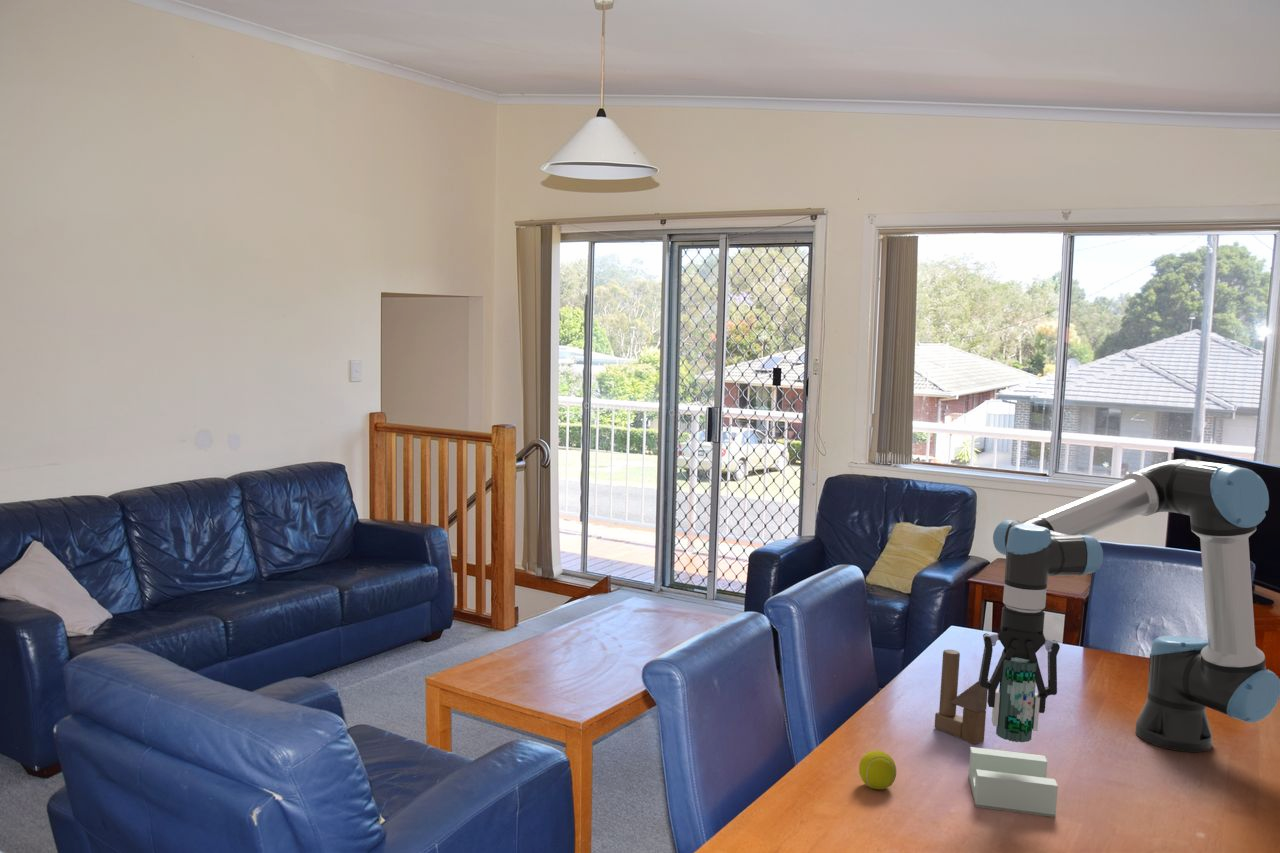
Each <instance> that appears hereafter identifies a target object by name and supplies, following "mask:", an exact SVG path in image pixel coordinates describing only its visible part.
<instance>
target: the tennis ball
mask: <svg viewBox="0 0 1280 853" xmlns="http://www.w3.org/2000/svg"><path fill="white" fill-rule="evenodd" d="M858 771H859V776H860V779H861V780H862V782H863V783H864V784H865V785H866V786H867V787H869V788H871V789H874V790H885V789H888V788H890V787H891V786H892V785H893V783H894V782H895V781H896V777H897V766H896V763H895V761H894V759H893V758H892V756H890V755H889V754H888V753H887V752H884V751H882V750H871V751H868V752H866V753H865V754H864V755H863V756H862V757H861V758H860V762H859V764H858Z"/></svg>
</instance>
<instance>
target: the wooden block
mask: <svg viewBox="0 0 1280 853" xmlns="http://www.w3.org/2000/svg"><path fill="white" fill-rule="evenodd" d="M960 660H961V653H960V652H959V651H958V650H956V649H944V650H943V652H942V660H941V661H942V664H941V675H940V676H941V677H940V679H941V681H940V694H939V707H938V709H939V710H938V712H936V713H935V715H934V728H935V729H936V730H939V731H940V732H941V731H942V732H943V733H946V734H949V735H951V736H954V737H956V738H958V739H961V740H962V741H965V742H967V743H970V744H972V745H977V744H981V743H984V741H985V731H986V718H987V705H988V702H987V699H988V689H987V688H985V687H981V685H980V683H979V680H978V681H976V682H975V683H974V684H972V685H971V686H969V687H968V688H966V689H965V690H964V691H963V692H961V693H960V694H958V687H959V675H960V674H959V672H960ZM957 706H958V707H961V708H963V710H962V716H961V715H958V714H957Z"/></svg>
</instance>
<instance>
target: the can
mask: <svg viewBox="0 0 1280 853" xmlns="http://www.w3.org/2000/svg"><path fill="white" fill-rule="evenodd" d="M1036 667H1037V663H1031V662H1030V660H1029V658H1025V657H1022V656H1012V658H1011V660H1010V661H1009V660H1006V659H1004V666H1003V676H1002V678H1001V681H1000V683H999V688H998V689H999V692H1000V701H999V714H998V726H995V729H996V730H995V734H996V735H997V737H999V738H1002V739H1003V740H1007V741H1008V742H1013V743H1014V742H1015V743H1026V742H1030V741H1032V736H1033V734H1032V733H1033V729H1032V724H1033V711H1034V699H1035V693H1036V687H1037V685H1036Z"/></svg>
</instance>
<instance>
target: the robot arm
mask: <svg viewBox="0 0 1280 853" xmlns="http://www.w3.org/2000/svg"><path fill="white" fill-rule="evenodd" d="M1269 496H1270V495H1269V490H1268V488H1267V484H1266V483H1265V481H1264V479H1262V477H1261V476H1260V475H1259V474H1257V473H1256V472H1255V471H1253V470H1252V469H1249V468H1246V467H1240V466H1238V465H1235V464H1231V463H1229V464H1225V463H1219V462H1211V461H1210V462H1209V461H1203V460H1195V459H1189V458H1177V459H1171V460H1166V461H1163V462H1162V461H1161V462H1159V463H1155V464H1154V463H1153V464H1151V465H1148V466H1146V467H1142V468H1140V469H1137V470H1135V471H1133V472H1132V471H1131V472H1130V473H1127V474H1126V475H1124V477H1123V478H1122V480H1121V481H1120V482H1119V483H1118V482H1117V483H1115V484H1113V485H1111V486H1109V487H1106V488H1104V489H1101V490H1098V491H1095V492H1094V493H1093V492H1092V493H1091V494H1088V495H1086V496H1084V497H1081V498H1079V499H1077V500H1074V501H1072V502H1068V503H1066V504H1064V505H1062V506H1059V507H1056V508H1054V509H1052V510H1049V511H1047V512H1044V513H1042V514H1041V513H1040V515H1036V516H1033V517H1032V518H1029V519H1025V520H1024V521H1019V520H1017V519H1006V520H1002V521H1000V523H998V524H997V526H996V527H995V528H994V531H993V534H992V542H993V546H994V548H995V549H996V551H997V552H998V553H999V554H1001V555H1004V556H1005V568H1004V571H1005V572H1004V586H1003V594H1002V595H1003V596H1002V603H1003V604H1004V605H1003V607H1002V610H1001V618H1000V619H1001V620H1000V628H999V630H998V631H997V633H993V634H992V633H991V634H989V633H988V632H987V633H986V632H985V633H984V634H982V637H983V644H984V646H983V647H984V649H983V654H982V659H981V664H980V665H981V666H980V670H979V677H978V681H979V683H980V685H981V687H985V688H987V689H988V692H987V705H988V707H989V708H992V710H991V711H992V712H991V713H992V714H991V723H992V726H993V727H997V726H998V714H999V701H1000V692H999V688H998V687H999V686H1000V681H1001V678H1002V676H1003V666H1004V659H1006V660H1009V661H1010V660H1011V658H1012V656H1022V657H1025V658H1029V660H1030V662H1031V663H1037V667H1036V687H1037V689H1036V690H1037V692H1035V699H1034V711H1033V724H1032V732H1033V731H1034V732H1038V726H1039V716H1040V714H1044V713H1045V711H1046V701H1047V698H1048V696H1056V695H1057V693H1058V670H1057V669H1058V665H1057V664H1058V661H1057V660H1058V658H1057V656H1058V653H1059V651H1060V649H1061V646H1060V644H1059V642H1058V641H1057V640H1055V639H1054V640H1053V639H1052V640H1051V639H1049V638H1046V636H1045V635H1044V627H1045V626H1044V624H1045V612H1044V609H1045V608H1046V603H1047V601H1046V600H1047V588H1048V578H1049V577H1053V576H1055V577H1057V576H1084V575H1088V574H1093V573H1096V572H1097V571H1098V570H1100V568H1101V567H1102V564H1103V561H1104V560H1103V559H1104V551H1103V547H1102V545H1101V544H1100V542H1099V541H1098V539H1097V538H1095V537H1094V536H1093V535H1092V534H1095V533H1097V532H1099V531H1102V530H1104V529H1107V528H1109V527H1112V526H1115V525H1116V524H1120V523H1121V522H1124V521H1126V520H1129V519H1131V518H1133V517H1135V516H1138V515H1139V516H1143V517H1148V516H1152V515H1154V514H1156V513H1174V514H1175V513H1176V514H1181V515H1184V516H1185V515H1186V516H1189V518H1190V520H1189V521H1190V529H1191V530H1190V531H1191V532H1192V533H1194V534H1195V535H1196V536H1197V537H1199V539H1200V540H1199V542H1200V552H1201V553H1200V555H1201V568H1202V580H1203V581H1202V582H1203V591H1204V592H1203V593H1204V594H1203V596H1204V607H1205V622H1206V633H1207V639H1206V638H1203V637H1201V638H1200V637H1195V636H1189V635H1188V636H1186V635H1162V636H1158V637H1156V638H1154V639H1153V640H1152V643H1151V648H1150V653H1149V662H1148V663H1149V667H1148V676H1147V677H1148V680H1147V695H1146V701H1145V702H1144V705H1143V707H1142V709H1141V711H1140V713H1139V715H1138V717H1137V719H1136V722H1135V734H1136V735H1137V736H1138V738H1140V739H1142V740H1144V741H1145V742H1148V743H1150V744H1152V745H1154V746H1158V747H1161V748H1165V749H1168V750H1174V751H1179V752H1186V753H1187V752H1188V753H1196V752H1197V753H1198V752H1205V751H1208V750H1210V749H1211V748H1212V746H1213V734H1212V730H1211V726H1210V722H1209V719H1208V716H1207V715H1208V714H1207V710H1206V709H1207V708H1208V709H1212V710H1214V711H1216V712H1219V713H1220V714H1224V715H1226V716H1228V717H1229V718H1230V719H1234V720H1239V721H1242V722H1245V723H1257V722H1260V721H1262V720H1264V719H1265V718H1267V717H1268V716H1269V715H1270V714H1271V713H1272V711H1273V709H1275V707H1276V706H1277V704H1278V702H1279V699H1280V678H1279V676H1278V675H1276V673H1275V672H1273V671H1272V670H1270V669H1267V668H1266V666H1267V665H1266V656H1265V653H1264V652H1263V650H1261V649H1260V648H1258V646H1256V644H1257V643H1256V629H1255V617H1254V603H1253V602H1254V601H1253V590H1252V586H1253V585H1252V572H1251V558H1250V542H1249V541H1250V540H1249V538H1250V537H1251V536H1252V535H1253V534H1254V533H1255V532H1256V531H1257V526H1258V525H1259V524H1260V523H1262V521H1263V520H1264V519H1265V518H1266V515H1267V514H1266V512H1267V511H1268V510H1269V506H1270V497H1269ZM1091 535H1092V536H1091ZM997 641H999V642H1000V643H1001V644H1002V646H1003V650H1002V652H1001V655H1000V658H999V659H998V662H997V665H996V666H995V669H994V671H993V672H992V675H991V677H990V679H989V673H990V668H991V662H992V657H993V652H994V651H993V647H995V646H996V645H997ZM1043 646H1045V650H1046V651H1047V686H1046V685H1045V683H1044V680H1043V676H1042V675H1043V674H1042V673H1041V669H1040V665H1039V661H1038V657H1037V653H1038V651H1039V650H1040V649H1041V648H1042V647H1043Z"/></svg>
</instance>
